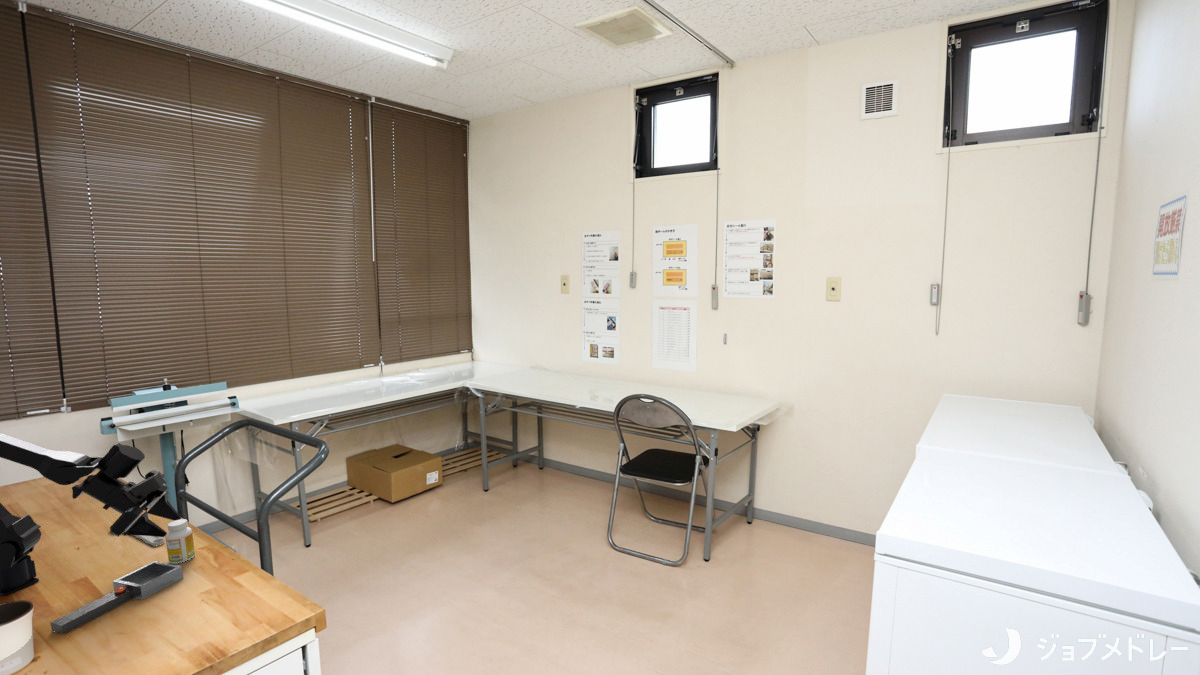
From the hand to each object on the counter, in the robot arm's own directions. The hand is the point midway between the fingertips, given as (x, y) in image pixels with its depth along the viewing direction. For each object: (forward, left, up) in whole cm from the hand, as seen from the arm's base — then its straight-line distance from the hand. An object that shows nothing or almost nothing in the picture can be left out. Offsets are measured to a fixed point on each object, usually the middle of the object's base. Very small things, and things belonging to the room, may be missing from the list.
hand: (172, 527), depth 141 cm
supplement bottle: (+1, -1, -9) cm, 9 cm away
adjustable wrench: (+6, +25, -9) cm, 27 cm away
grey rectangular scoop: (-17, -6, -9) cm, 20 cm away
